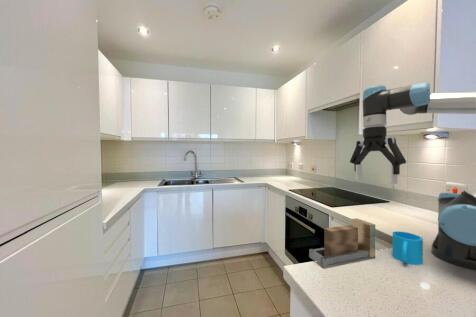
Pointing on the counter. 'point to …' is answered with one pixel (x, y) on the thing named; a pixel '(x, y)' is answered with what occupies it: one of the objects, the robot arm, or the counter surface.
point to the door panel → (340, 240)
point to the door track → (364, 252)
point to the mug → (407, 248)
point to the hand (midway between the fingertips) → (374, 181)
